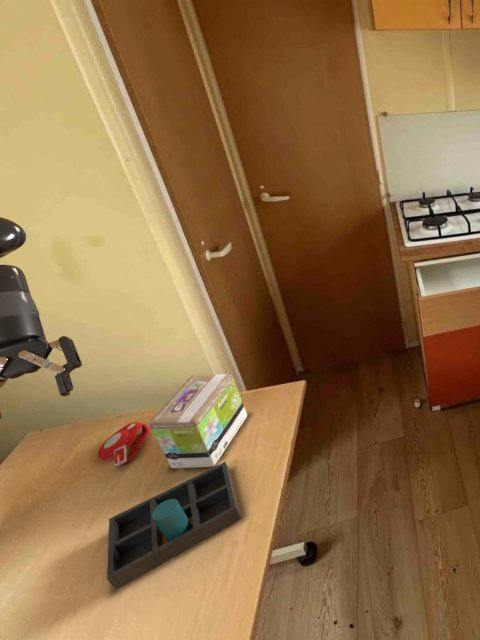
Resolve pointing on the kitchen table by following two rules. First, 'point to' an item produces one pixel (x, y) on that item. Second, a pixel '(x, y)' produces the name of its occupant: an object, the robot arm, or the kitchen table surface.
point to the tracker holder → (123, 443)
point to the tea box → (199, 421)
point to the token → (171, 519)
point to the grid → (147, 539)
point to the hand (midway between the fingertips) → (31, 406)
